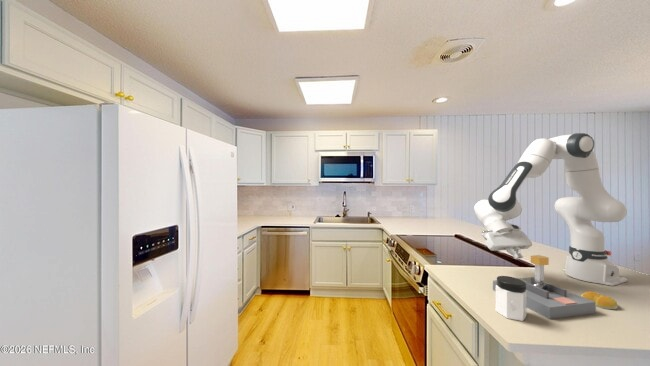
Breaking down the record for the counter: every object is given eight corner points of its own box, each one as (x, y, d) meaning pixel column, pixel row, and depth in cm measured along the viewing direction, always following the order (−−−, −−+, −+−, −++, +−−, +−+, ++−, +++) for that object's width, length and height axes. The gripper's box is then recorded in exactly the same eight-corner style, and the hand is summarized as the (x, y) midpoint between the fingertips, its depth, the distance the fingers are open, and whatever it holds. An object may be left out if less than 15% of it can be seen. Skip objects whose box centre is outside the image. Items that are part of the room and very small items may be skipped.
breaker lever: (540, 287, 95) (540, 255, 95) (548, 291, 92) (549, 257, 92) (529, 288, 94) (530, 255, 94) (538, 292, 91) (538, 258, 91)
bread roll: (611, 312, 85) (611, 301, 85) (577, 300, 93) (577, 290, 93) (622, 308, 88) (623, 297, 88) (589, 297, 96) (589, 287, 96)
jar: (499, 317, 81) (499, 282, 81) (492, 305, 89) (492, 274, 89) (531, 323, 78) (531, 287, 78) (521, 310, 86) (521, 277, 86)
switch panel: (531, 286, 106) (531, 271, 105) (595, 313, 84) (595, 295, 84) (492, 289, 102) (493, 274, 102) (549, 319, 80) (549, 300, 80)
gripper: (483, 227, 106) (503, 255, 97) (521, 225, 110) (544, 253, 100) (475, 234, 110) (493, 262, 101) (512, 233, 114) (533, 260, 104)
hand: (519, 257), depth 101 cm, fingers closed
